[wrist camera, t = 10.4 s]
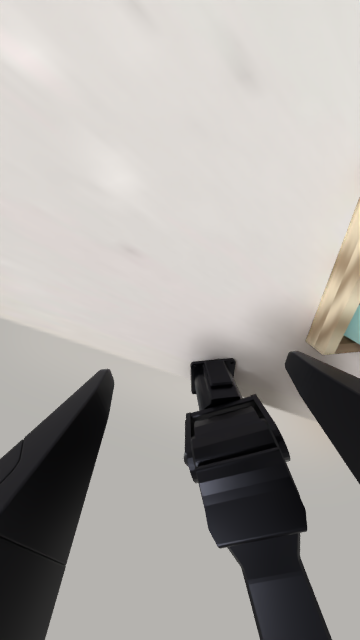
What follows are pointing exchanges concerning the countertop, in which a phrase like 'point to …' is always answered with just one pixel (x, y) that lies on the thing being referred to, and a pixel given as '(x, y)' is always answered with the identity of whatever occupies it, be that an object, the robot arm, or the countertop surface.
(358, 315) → the teal block
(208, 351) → the countertop surface
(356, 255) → the wooden tray
